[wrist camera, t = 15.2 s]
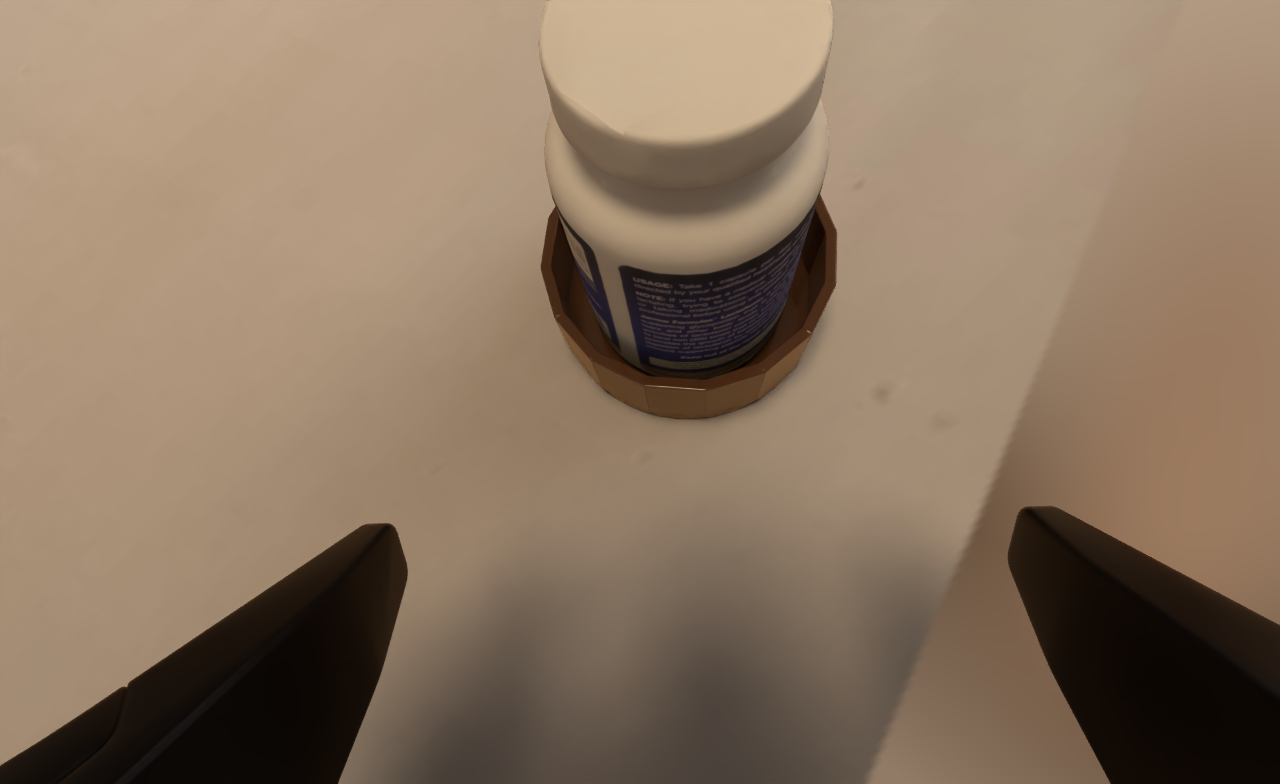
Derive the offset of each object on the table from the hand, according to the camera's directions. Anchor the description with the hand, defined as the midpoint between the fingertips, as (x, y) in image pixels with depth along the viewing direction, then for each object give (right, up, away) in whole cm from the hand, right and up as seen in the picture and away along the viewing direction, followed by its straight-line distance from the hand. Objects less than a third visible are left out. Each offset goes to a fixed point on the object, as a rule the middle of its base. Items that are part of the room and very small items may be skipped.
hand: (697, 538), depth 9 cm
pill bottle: (+1, +5, +10) cm, 12 cm away
